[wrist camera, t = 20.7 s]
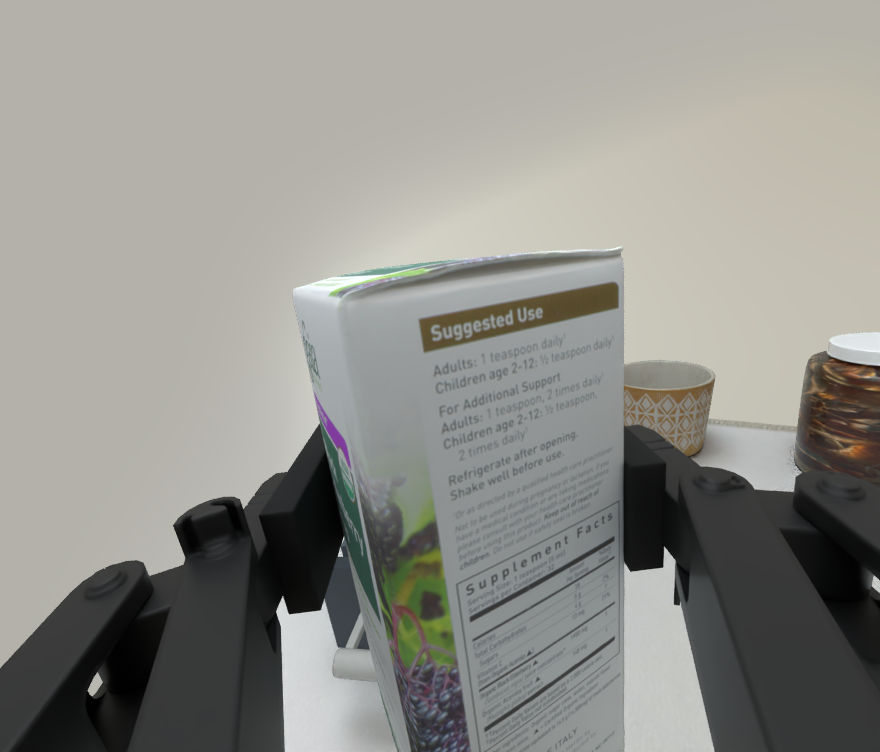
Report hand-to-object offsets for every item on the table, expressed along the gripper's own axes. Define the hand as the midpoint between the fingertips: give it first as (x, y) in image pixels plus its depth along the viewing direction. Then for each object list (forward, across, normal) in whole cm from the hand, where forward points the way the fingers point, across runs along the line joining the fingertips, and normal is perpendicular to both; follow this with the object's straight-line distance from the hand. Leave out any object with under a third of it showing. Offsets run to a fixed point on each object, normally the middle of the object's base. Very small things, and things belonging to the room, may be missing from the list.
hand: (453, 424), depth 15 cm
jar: (+26, -45, +24) cm, 57 cm away
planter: (+38, -28, +24) cm, 53 cm away
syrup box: (-5, 0, +9) cm, 10 cm away
